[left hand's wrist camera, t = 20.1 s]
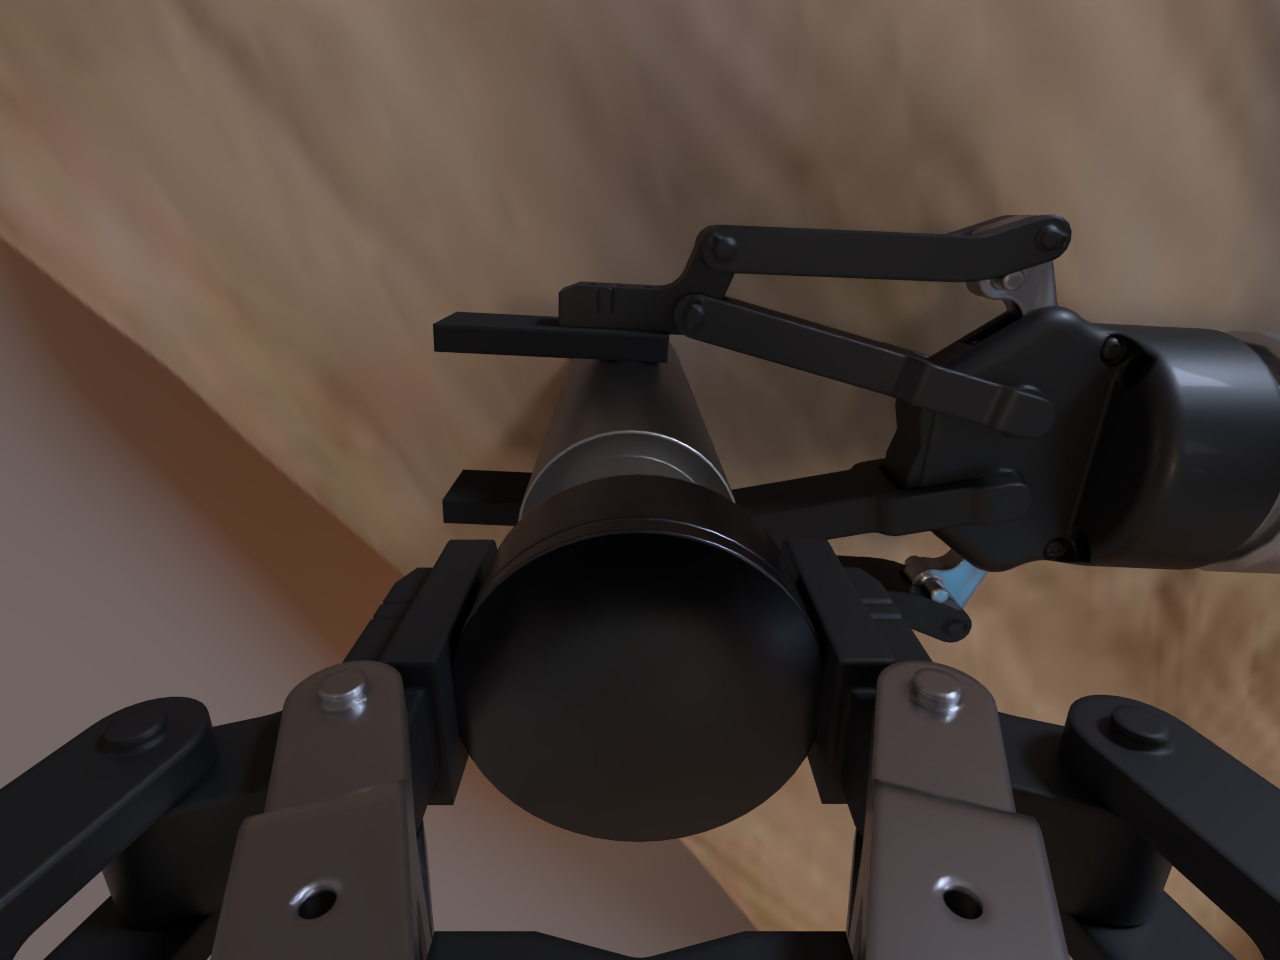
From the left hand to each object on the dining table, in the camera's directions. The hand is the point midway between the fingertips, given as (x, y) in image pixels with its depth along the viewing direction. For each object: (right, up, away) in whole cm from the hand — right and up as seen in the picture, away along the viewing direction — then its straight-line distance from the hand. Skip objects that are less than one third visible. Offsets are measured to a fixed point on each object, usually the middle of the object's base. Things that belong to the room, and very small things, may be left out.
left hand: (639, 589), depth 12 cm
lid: (0, -1, -3) cm, 3 cm away
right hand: (-6, +4, +9) cm, 12 cm away
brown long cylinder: (-1, +6, +16) cm, 17 cm away
